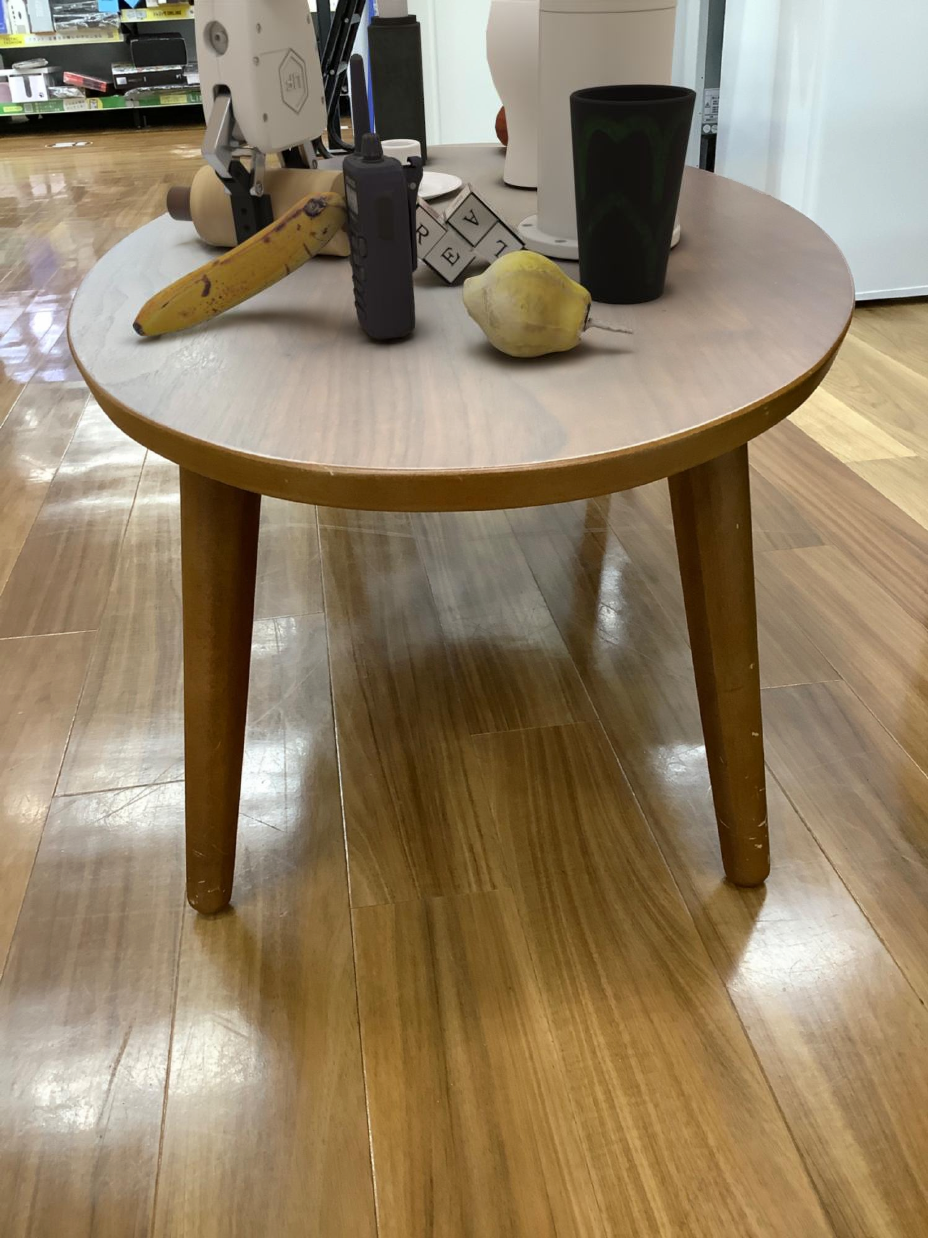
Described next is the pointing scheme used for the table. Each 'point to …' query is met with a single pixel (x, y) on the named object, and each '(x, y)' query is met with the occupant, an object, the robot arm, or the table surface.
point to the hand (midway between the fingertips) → (280, 235)
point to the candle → (397, 74)
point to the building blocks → (463, 234)
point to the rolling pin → (283, 184)
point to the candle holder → (431, 181)
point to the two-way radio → (380, 223)
